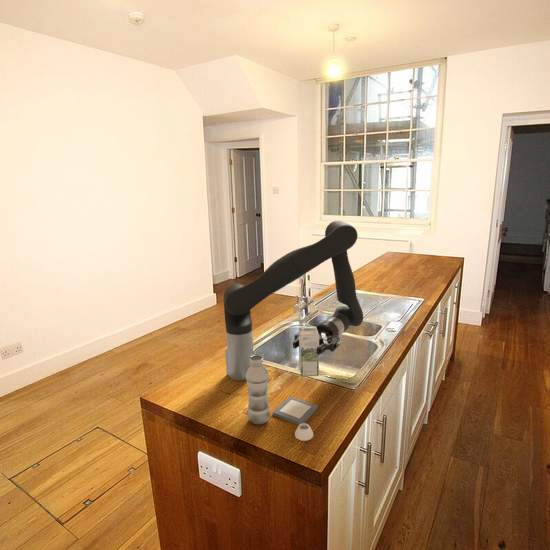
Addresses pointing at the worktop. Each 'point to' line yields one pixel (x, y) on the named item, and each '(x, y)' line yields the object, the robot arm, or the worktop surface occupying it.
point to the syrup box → (308, 351)
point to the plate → (295, 410)
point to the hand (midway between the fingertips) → (305, 348)
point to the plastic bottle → (258, 391)
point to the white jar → (304, 432)
